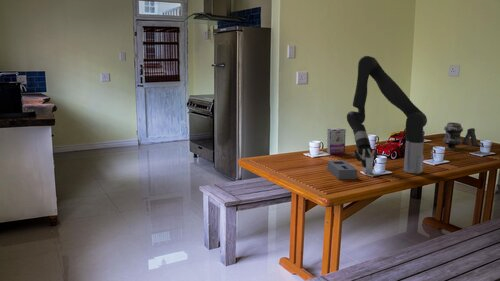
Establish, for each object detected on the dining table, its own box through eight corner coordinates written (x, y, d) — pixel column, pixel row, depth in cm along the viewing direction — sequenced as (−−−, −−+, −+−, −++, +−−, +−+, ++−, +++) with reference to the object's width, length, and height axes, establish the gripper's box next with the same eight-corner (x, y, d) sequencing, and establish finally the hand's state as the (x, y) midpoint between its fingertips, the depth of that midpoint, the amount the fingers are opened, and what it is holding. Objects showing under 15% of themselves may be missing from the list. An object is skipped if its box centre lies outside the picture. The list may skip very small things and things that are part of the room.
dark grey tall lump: (460, 151, 285) (463, 125, 282) (441, 149, 291) (443, 123, 287) (461, 148, 295) (464, 122, 292) (443, 146, 301) (445, 121, 298)
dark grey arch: (461, 144, 308) (463, 128, 306) (465, 143, 312) (466, 127, 309) (474, 146, 301) (476, 129, 299) (477, 145, 305) (479, 128, 303)
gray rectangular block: (369, 171, 234) (370, 156, 232) (372, 173, 230) (373, 157, 228) (362, 172, 233) (363, 156, 231) (365, 174, 229) (366, 158, 228)
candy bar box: (341, 151, 283) (342, 127, 280) (345, 153, 279) (346, 129, 275) (326, 152, 280) (327, 128, 277) (329, 154, 276) (330, 129, 272)
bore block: (344, 168, 240) (344, 160, 239) (356, 178, 221) (357, 169, 220) (327, 169, 239) (327, 160, 238) (338, 179, 219) (338, 170, 219)
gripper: (351, 137, 234) (358, 163, 225) (376, 136, 236) (384, 163, 226) (348, 144, 241) (354, 170, 231) (372, 144, 242) (379, 169, 233)
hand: (369, 166), depth 229 cm, fingers closed on gray rectangular block, 4 cm apart
